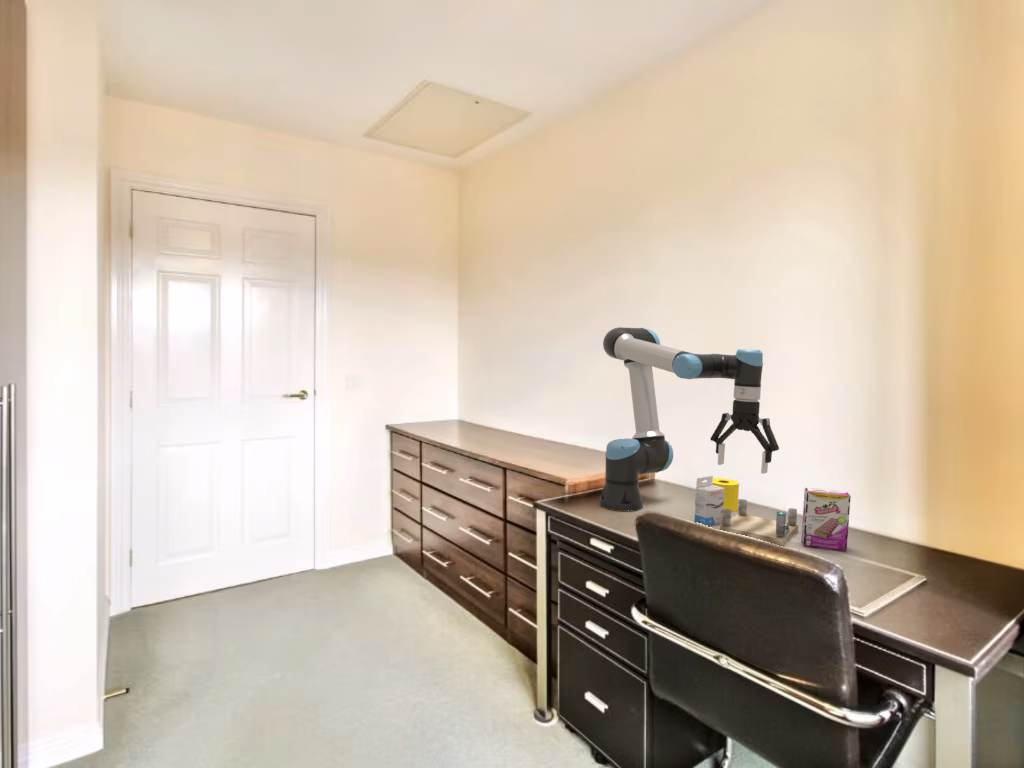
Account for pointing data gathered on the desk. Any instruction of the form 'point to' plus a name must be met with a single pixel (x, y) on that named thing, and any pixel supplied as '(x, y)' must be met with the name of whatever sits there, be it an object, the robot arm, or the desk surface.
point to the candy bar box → (825, 519)
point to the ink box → (708, 502)
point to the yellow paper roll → (728, 492)
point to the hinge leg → (781, 524)
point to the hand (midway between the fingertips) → (741, 468)
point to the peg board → (757, 525)
